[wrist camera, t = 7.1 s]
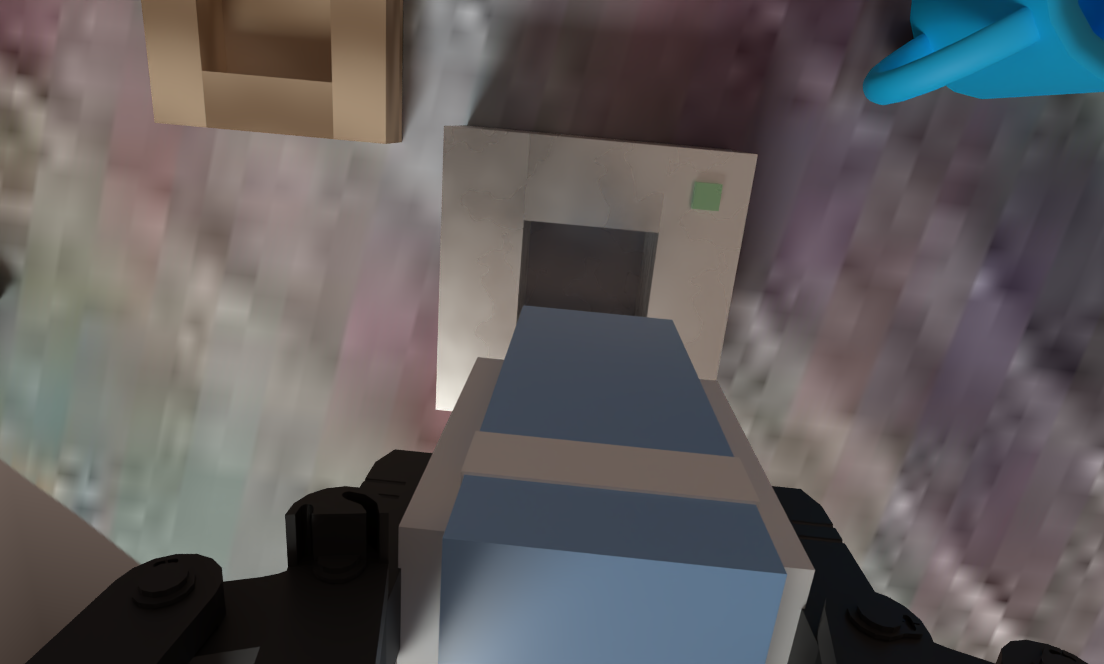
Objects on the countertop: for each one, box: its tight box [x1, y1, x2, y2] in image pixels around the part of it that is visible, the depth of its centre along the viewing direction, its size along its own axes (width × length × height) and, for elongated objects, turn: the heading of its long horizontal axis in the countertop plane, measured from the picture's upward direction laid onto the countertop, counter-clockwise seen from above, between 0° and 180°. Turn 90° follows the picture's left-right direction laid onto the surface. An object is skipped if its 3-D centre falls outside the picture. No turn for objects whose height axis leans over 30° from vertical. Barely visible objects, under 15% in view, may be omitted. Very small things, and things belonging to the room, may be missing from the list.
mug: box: [863, 0, 1104, 105], centre depth 23 cm, size 12×8×8 cm
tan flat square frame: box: [141, 0, 403, 144], centre depth 26 cm, size 10×10×2 cm
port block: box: [436, 125, 758, 411], centre depth 28 cm, size 12×12×5 cm
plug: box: [438, 305, 787, 664], centre depth 13 cm, size 4×4×10 cm
